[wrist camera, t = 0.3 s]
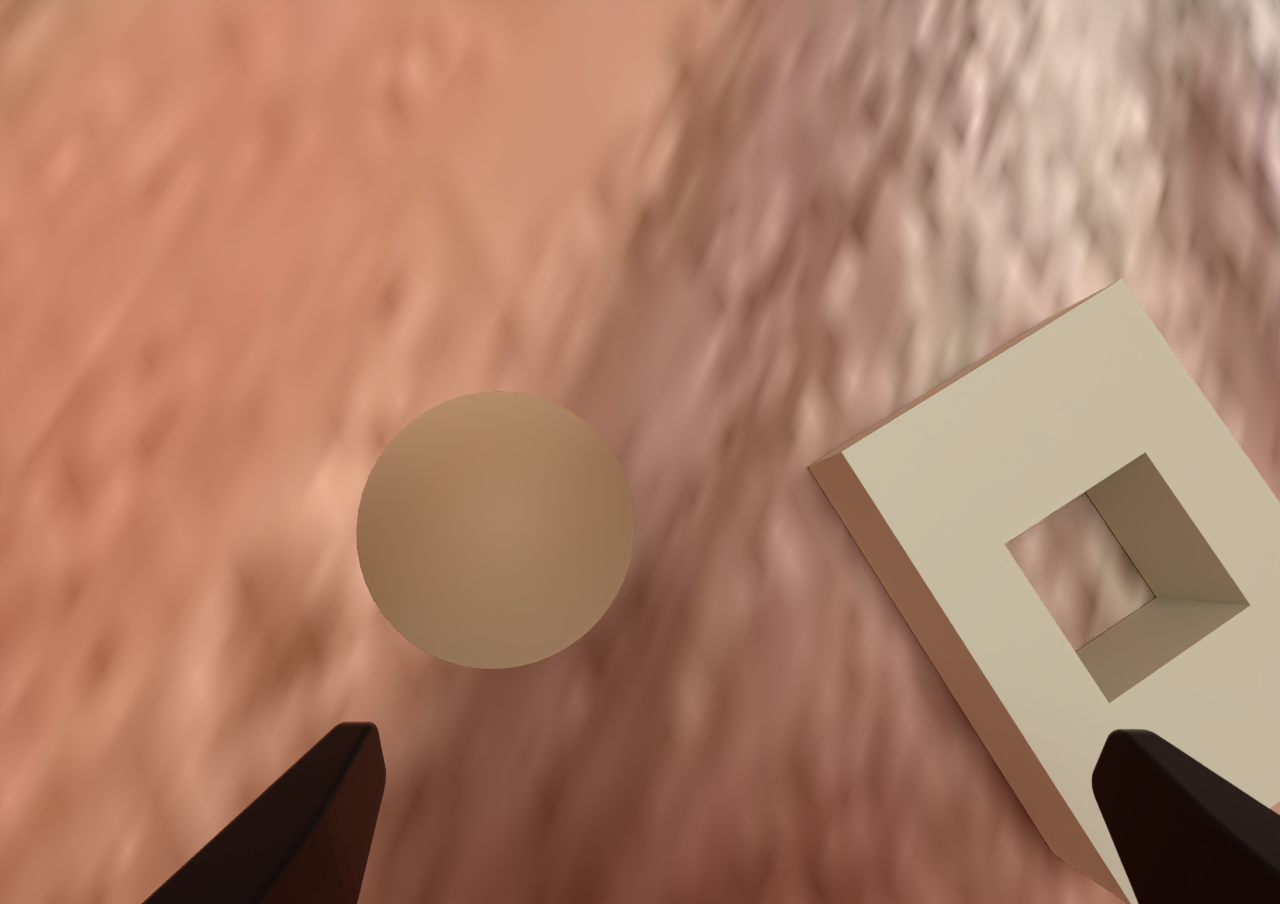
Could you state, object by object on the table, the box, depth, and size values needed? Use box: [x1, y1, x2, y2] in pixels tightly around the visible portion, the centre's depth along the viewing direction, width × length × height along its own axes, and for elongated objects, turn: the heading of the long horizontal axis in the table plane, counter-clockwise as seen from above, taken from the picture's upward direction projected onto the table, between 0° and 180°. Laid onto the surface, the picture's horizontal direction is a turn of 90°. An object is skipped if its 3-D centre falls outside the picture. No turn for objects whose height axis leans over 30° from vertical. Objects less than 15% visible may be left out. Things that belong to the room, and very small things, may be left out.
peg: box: [357, 391, 635, 669], centre depth 16 cm, size 4×4×14 cm
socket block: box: [808, 279, 1280, 904], centre depth 22 cm, size 14×10×4 cm
